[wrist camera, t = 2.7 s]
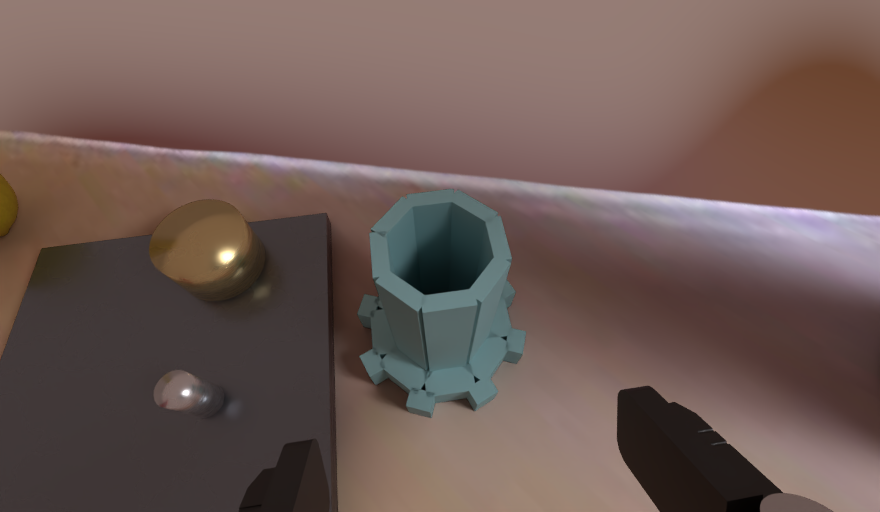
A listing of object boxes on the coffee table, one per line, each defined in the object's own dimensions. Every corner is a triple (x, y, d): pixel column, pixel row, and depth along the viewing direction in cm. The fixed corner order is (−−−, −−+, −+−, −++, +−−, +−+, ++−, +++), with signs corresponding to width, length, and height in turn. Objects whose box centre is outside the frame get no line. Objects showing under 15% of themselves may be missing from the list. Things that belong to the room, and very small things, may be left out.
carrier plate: (330, 223, 27) (312, 182, 23) (339, 586, 18) (312, 614, 14) (58, 257, 26) (-6, 220, 22) (-81, 663, 17) (-229, 715, 13)
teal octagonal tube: (498, 258, 26) (528, 142, 17) (534, 401, 21) (597, 346, 13) (360, 277, 25) (315, 166, 16) (369, 428, 21) (316, 389, 12)
